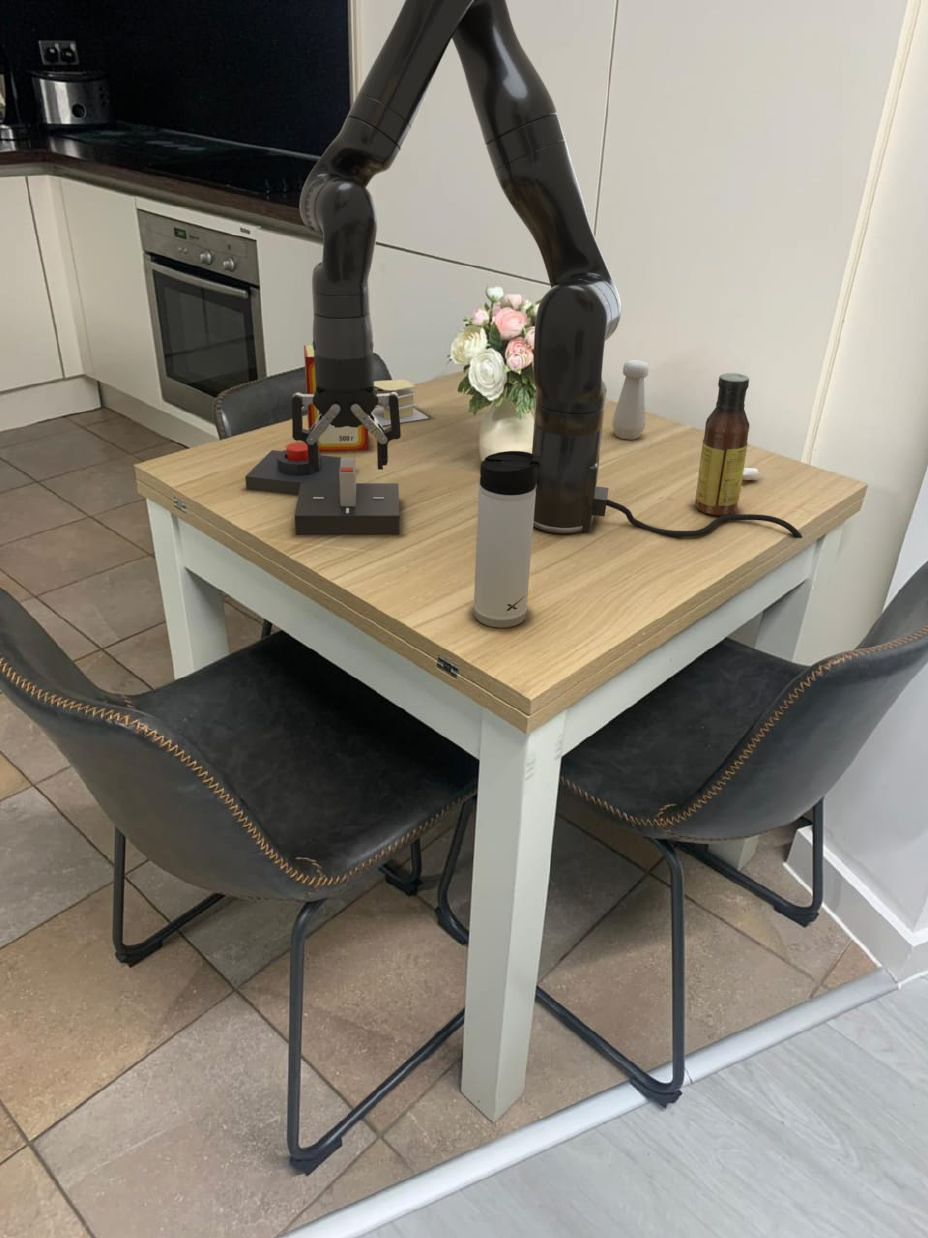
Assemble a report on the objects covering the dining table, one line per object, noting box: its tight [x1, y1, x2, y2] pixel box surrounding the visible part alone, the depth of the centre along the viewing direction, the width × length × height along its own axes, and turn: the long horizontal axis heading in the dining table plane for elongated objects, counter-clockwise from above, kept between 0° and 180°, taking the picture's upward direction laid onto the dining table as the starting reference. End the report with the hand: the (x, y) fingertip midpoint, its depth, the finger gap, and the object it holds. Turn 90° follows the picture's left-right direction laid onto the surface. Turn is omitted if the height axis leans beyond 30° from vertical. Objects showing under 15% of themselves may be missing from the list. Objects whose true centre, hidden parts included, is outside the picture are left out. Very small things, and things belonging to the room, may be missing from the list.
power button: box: [285, 442, 308, 461], centre depth 142 cm, size 4×4×2 cm
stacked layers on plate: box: [372, 379, 429, 427], centre depth 170 cm, size 10×9×6 cm
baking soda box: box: [303, 344, 370, 453], centre depth 154 cm, size 10×6×16 cm
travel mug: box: [473, 450, 542, 629], centre depth 107 cm, size 6×7×20 cm
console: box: [294, 482, 400, 536], centre depth 133 cm, size 14×11×3 cm
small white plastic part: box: [742, 465, 760, 481], centre depth 149 cm, size 4×6×3 cm, turn 89°
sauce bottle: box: [695, 372, 750, 517], centre depth 136 cm, size 6×6×20 cm
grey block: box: [339, 456, 357, 506], centre depth 131 cm, size 6×2×5 cm, turn 4°
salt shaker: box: [611, 359, 650, 441], centre depth 163 cm, size 6×6×13 cm
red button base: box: [244, 449, 342, 496], centre depth 143 cm, size 13×11×4 cm
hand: (348, 468), depth 129 cm, fingers open, 8 cm apart
